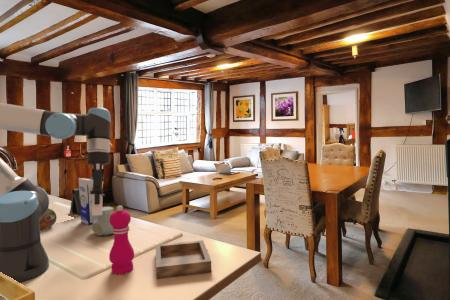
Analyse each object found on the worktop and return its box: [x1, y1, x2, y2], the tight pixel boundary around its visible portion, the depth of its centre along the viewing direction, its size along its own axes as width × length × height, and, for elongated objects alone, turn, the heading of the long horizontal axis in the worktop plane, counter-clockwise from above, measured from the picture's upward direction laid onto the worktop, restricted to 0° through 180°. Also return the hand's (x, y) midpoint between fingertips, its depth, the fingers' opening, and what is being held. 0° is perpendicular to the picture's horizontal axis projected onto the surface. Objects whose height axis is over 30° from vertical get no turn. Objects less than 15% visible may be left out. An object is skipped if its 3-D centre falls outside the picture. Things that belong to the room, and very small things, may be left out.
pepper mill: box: [108, 205, 135, 275], centre depth 95 cm, size 7×7×20 cm
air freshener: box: [91, 206, 115, 237], centre depth 126 cm, size 11×8×10 cm
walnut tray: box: [155, 240, 212, 279], centre depth 100 cm, size 16×16×4 cm
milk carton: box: [78, 176, 104, 227], centre depth 138 cm, size 7×7×20 cm
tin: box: [39, 207, 58, 231], centre depth 130 cm, size 15×3×8 cm, turn 126°
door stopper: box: [69, 187, 81, 217], centre depth 152 cm, size 9×6×12 cm, turn 52°
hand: (97, 215), depth 105 cm, fingers open, 13 cm apart
